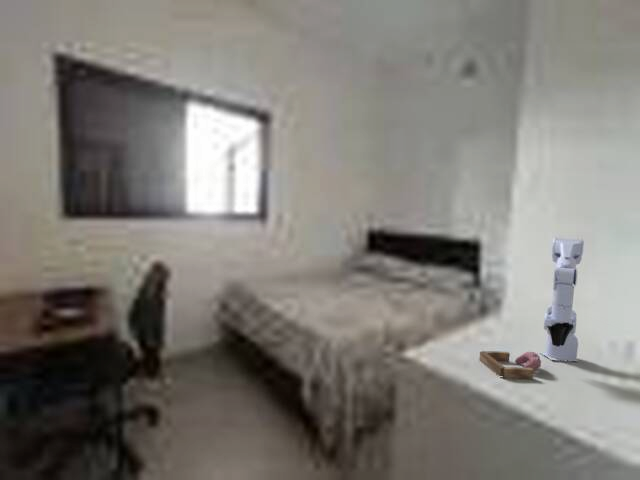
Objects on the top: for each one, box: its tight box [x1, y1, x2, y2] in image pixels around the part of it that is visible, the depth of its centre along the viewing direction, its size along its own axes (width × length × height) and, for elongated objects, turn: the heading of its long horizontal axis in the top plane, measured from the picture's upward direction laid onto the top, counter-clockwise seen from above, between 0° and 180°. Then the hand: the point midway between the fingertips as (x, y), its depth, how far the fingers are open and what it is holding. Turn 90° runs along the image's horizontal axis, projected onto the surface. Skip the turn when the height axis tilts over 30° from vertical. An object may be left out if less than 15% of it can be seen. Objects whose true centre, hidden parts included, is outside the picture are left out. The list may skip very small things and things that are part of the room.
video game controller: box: [514, 350, 542, 371], centre depth 142 cm, size 10×5×7 cm, turn 169°
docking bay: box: [479, 350, 535, 380], centre depth 141 cm, size 10×16×3 cm, turn 4°
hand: (558, 345), depth 142 cm, fingers closed
